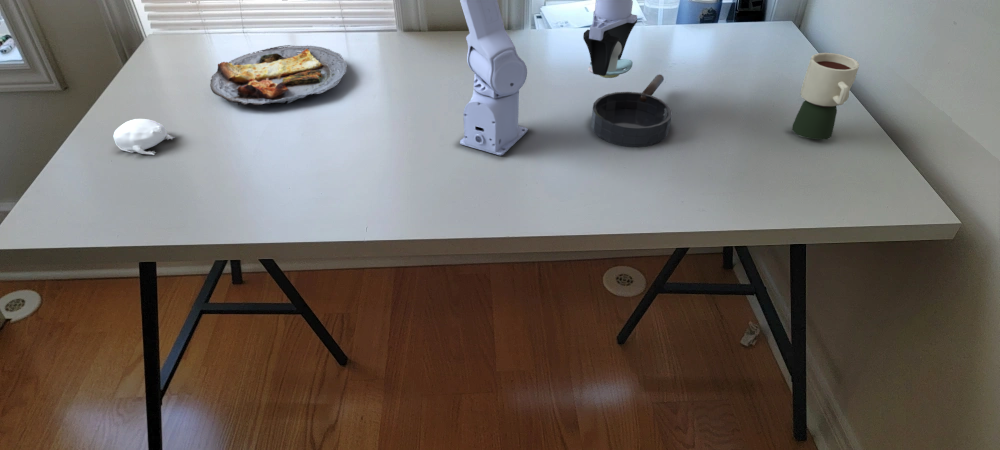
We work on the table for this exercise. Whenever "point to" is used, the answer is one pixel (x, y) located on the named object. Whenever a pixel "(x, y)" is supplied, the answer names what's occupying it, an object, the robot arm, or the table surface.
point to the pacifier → (616, 64)
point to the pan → (630, 119)
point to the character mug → (824, 94)
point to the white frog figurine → (140, 135)
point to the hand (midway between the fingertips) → (606, 66)
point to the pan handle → (652, 87)
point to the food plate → (278, 74)
